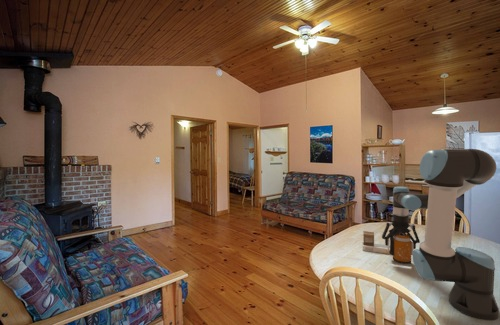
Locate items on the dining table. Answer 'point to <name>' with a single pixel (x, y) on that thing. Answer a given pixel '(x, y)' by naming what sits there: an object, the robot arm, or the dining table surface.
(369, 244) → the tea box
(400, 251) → the canister
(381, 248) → the shelf board
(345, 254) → the dining table surface
